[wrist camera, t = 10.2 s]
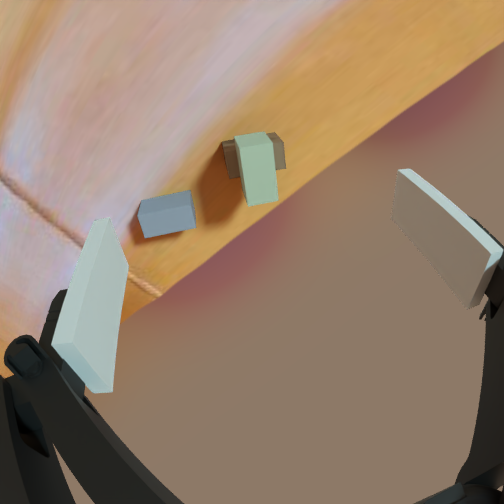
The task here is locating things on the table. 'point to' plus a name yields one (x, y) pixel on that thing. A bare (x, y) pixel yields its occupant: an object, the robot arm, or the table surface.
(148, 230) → the slate block
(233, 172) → the walnut block
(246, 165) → the sage block
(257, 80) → the table surface
